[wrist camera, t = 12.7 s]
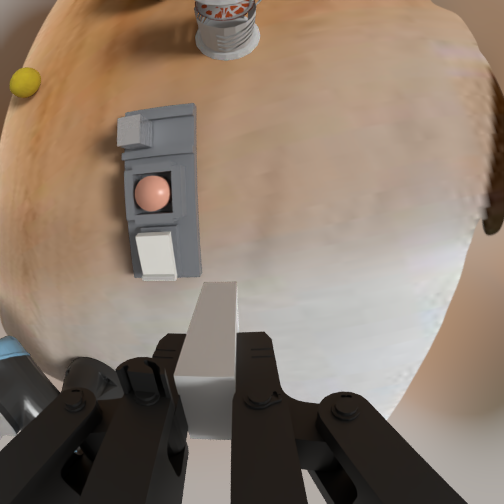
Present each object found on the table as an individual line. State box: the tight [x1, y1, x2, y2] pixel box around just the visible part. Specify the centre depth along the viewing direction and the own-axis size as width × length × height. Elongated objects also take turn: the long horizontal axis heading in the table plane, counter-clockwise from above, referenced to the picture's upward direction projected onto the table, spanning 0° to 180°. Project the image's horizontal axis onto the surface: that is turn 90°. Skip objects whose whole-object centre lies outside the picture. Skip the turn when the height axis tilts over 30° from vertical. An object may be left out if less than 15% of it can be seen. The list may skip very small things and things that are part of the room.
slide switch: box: [117, 114, 153, 150], centre depth 30 cm, size 3×4×5 cm
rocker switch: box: [136, 231, 177, 281], centre depth 33 cm, size 4×6×2 cm
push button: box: [135, 176, 172, 211], centre depth 33 cm, size 4×4×3 cm
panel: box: [122, 103, 202, 278], centre depth 34 cm, size 10×24×5 cm, turn 1°
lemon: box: [10, 68, 41, 98], centre depth 26 cm, size 6×6×8 cm
